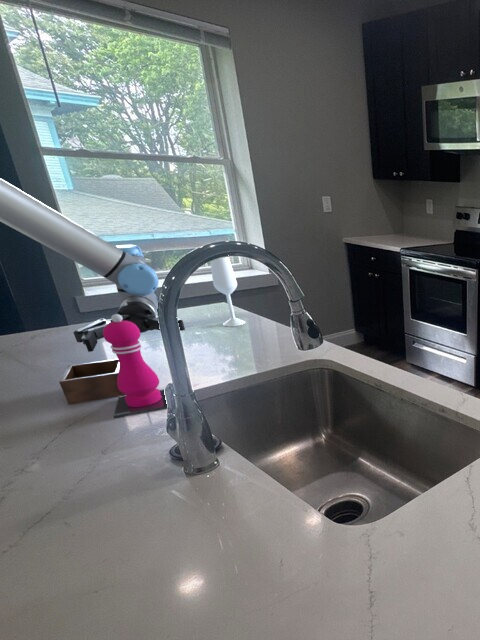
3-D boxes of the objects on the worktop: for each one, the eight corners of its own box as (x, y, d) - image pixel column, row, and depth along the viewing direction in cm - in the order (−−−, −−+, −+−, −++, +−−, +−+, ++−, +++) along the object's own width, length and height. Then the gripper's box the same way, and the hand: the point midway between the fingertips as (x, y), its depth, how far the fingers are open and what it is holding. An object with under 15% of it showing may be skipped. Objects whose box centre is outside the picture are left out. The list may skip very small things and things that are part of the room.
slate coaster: (114, 418, 98) (113, 415, 98) (119, 399, 105) (118, 396, 105) (171, 407, 103) (170, 405, 102) (172, 390, 110) (172, 387, 110)
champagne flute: (230, 327, 151) (212, 252, 141) (218, 323, 154) (200, 249, 144) (250, 322, 157) (234, 249, 146) (238, 319, 160) (222, 246, 149)
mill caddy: (68, 404, 102) (58, 381, 100) (76, 386, 110) (68, 365, 108) (126, 394, 107) (118, 373, 105) (130, 378, 115) (123, 357, 113)
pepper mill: (160, 390, 108) (134, 307, 100) (167, 401, 104) (140, 315, 95) (121, 400, 104) (90, 313, 95) (127, 411, 99) (95, 321, 91)
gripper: (198, 322, 126) (199, 347, 110) (78, 336, 114) (59, 366, 98) (191, 295, 123) (191, 317, 107) (67, 306, 111) (45, 332, 95)
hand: (128, 340), depth 102 cm, fingers open, 13 cm apart
